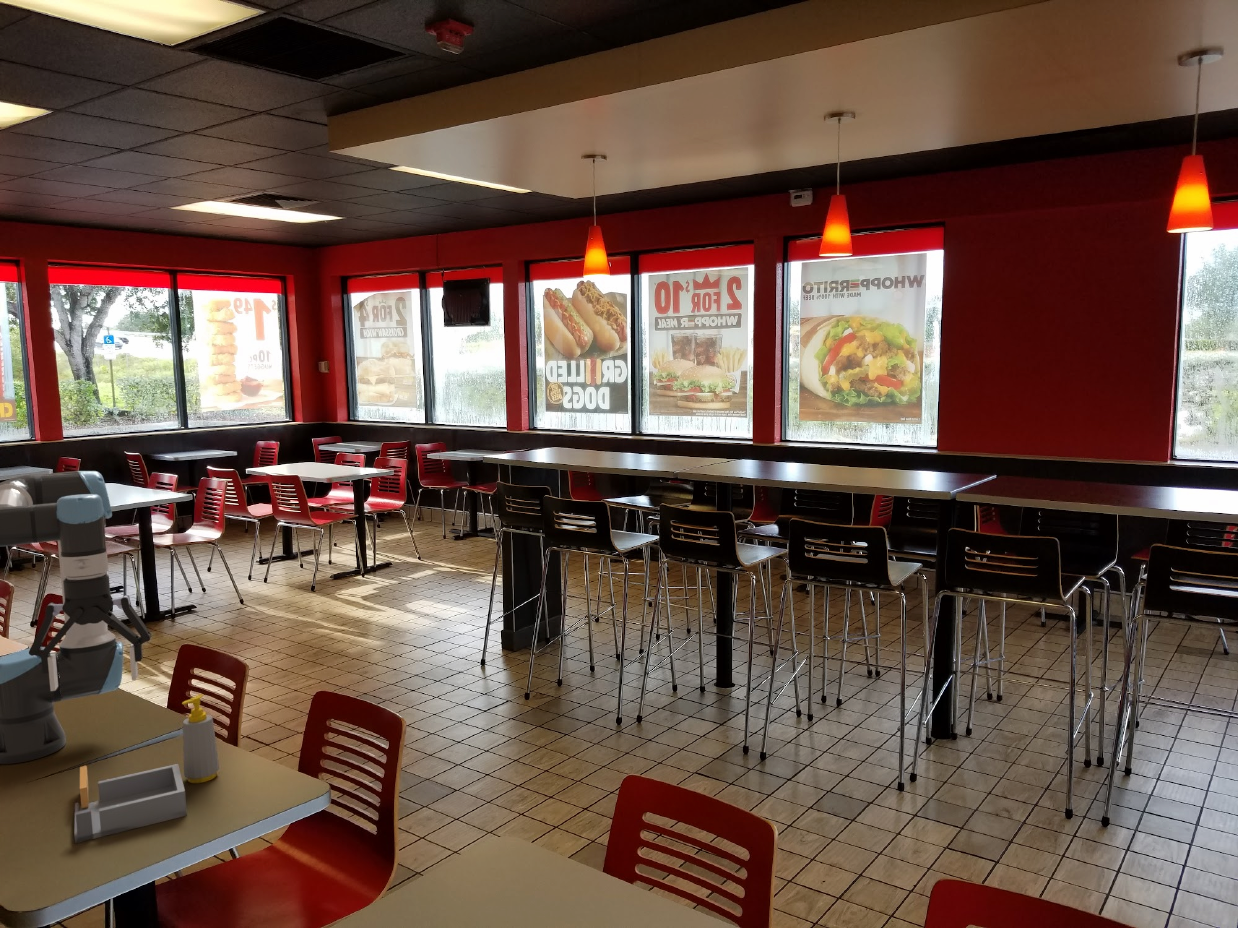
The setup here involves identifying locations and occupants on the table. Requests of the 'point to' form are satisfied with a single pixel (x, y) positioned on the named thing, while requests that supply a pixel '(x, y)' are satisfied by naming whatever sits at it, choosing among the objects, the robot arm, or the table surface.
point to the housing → (132, 803)
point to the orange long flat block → (84, 787)
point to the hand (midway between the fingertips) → (95, 683)
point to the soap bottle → (199, 744)
